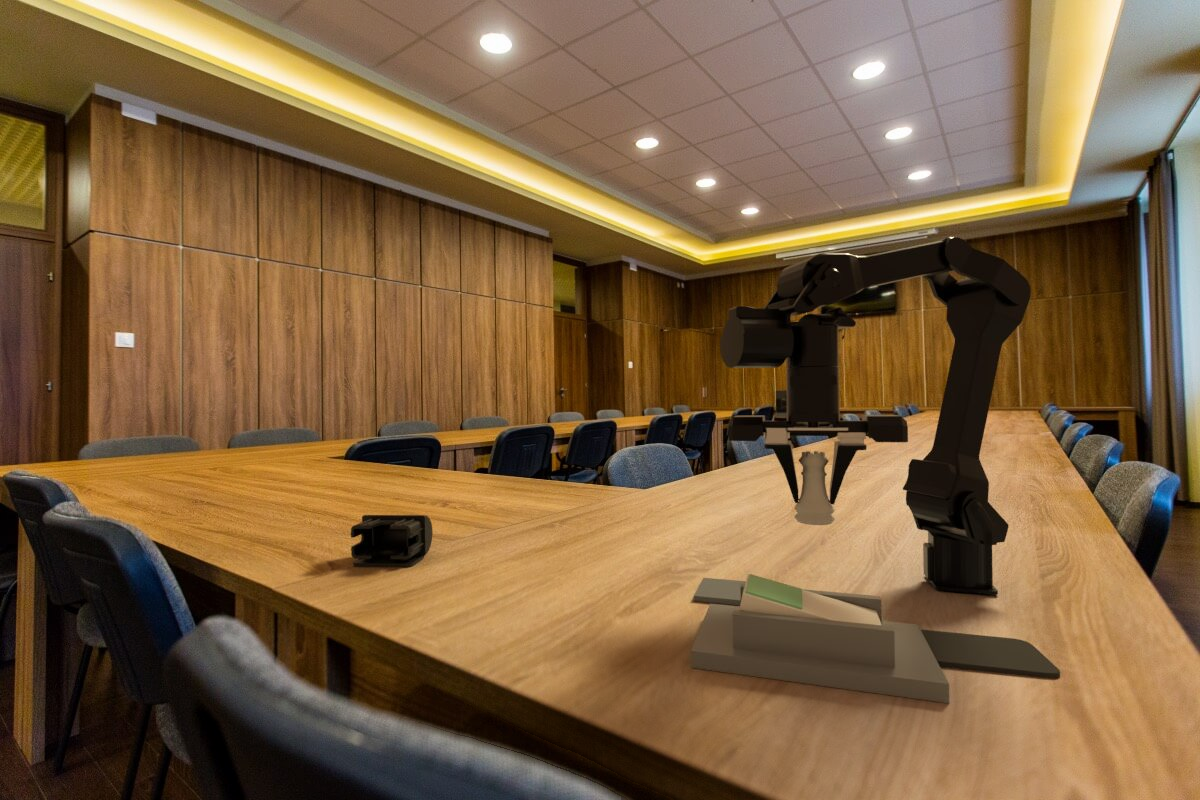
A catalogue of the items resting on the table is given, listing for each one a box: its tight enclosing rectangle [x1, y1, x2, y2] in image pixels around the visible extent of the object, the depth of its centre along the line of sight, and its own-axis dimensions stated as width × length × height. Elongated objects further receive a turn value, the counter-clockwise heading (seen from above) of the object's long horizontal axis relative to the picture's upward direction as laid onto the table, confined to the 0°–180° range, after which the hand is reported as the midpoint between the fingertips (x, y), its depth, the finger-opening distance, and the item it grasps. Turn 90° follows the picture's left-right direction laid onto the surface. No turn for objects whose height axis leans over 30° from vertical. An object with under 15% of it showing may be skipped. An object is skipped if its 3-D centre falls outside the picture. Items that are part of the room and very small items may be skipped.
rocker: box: [739, 573, 881, 625], centre depth 53 cm, size 12×6×2 cm, turn 71°
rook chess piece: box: [793, 450, 836, 526], centre depth 66 cm, size 4×4×8 cm
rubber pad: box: [693, 577, 746, 606], centre depth 69 cm, size 7×7×1 cm
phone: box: [920, 628, 1061, 679], centre depth 53 cm, size 7×1×15 cm
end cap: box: [350, 514, 433, 569], centre depth 86 cm, size 10×7×7 cm
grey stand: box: [690, 584, 950, 704], centre depth 53 cm, size 20×12×4 cm, turn 71°
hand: (814, 503), depth 66 cm, fingers closed on rook chess piece, 3 cm apart
